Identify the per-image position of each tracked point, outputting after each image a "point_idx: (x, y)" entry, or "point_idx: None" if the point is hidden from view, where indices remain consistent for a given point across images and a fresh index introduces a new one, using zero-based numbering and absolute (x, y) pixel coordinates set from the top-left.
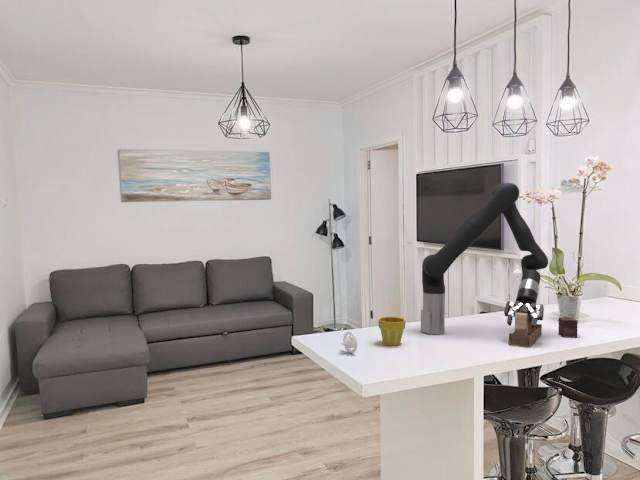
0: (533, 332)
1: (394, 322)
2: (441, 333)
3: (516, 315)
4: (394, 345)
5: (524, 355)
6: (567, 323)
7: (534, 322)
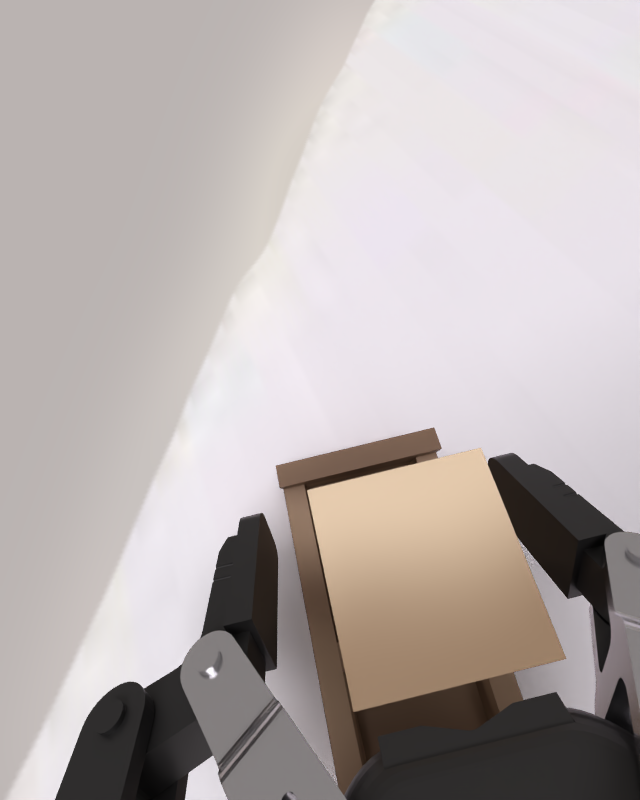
0: (356, 768)
1: None
2: None
3: (451, 458)
4: None
5: (248, 313)
6: None
7: (231, 570)
